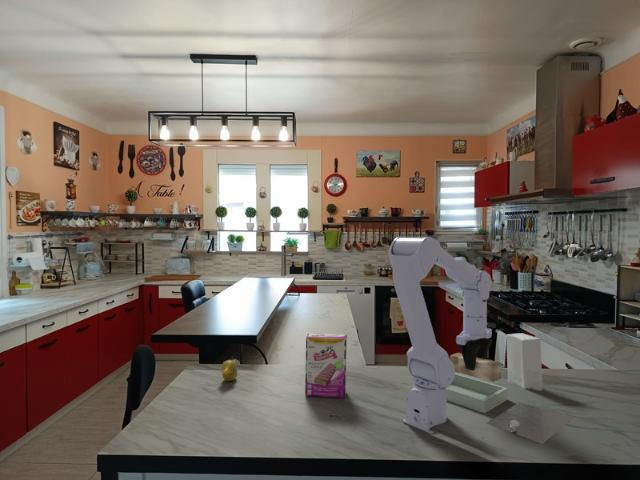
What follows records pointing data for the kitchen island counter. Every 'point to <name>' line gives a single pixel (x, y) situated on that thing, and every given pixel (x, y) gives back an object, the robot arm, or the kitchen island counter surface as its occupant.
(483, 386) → the bin
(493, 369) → the tan long block
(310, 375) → the candy bar box
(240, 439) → the kitchen island counter surface
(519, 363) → the skincare box
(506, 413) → the mount
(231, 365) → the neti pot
